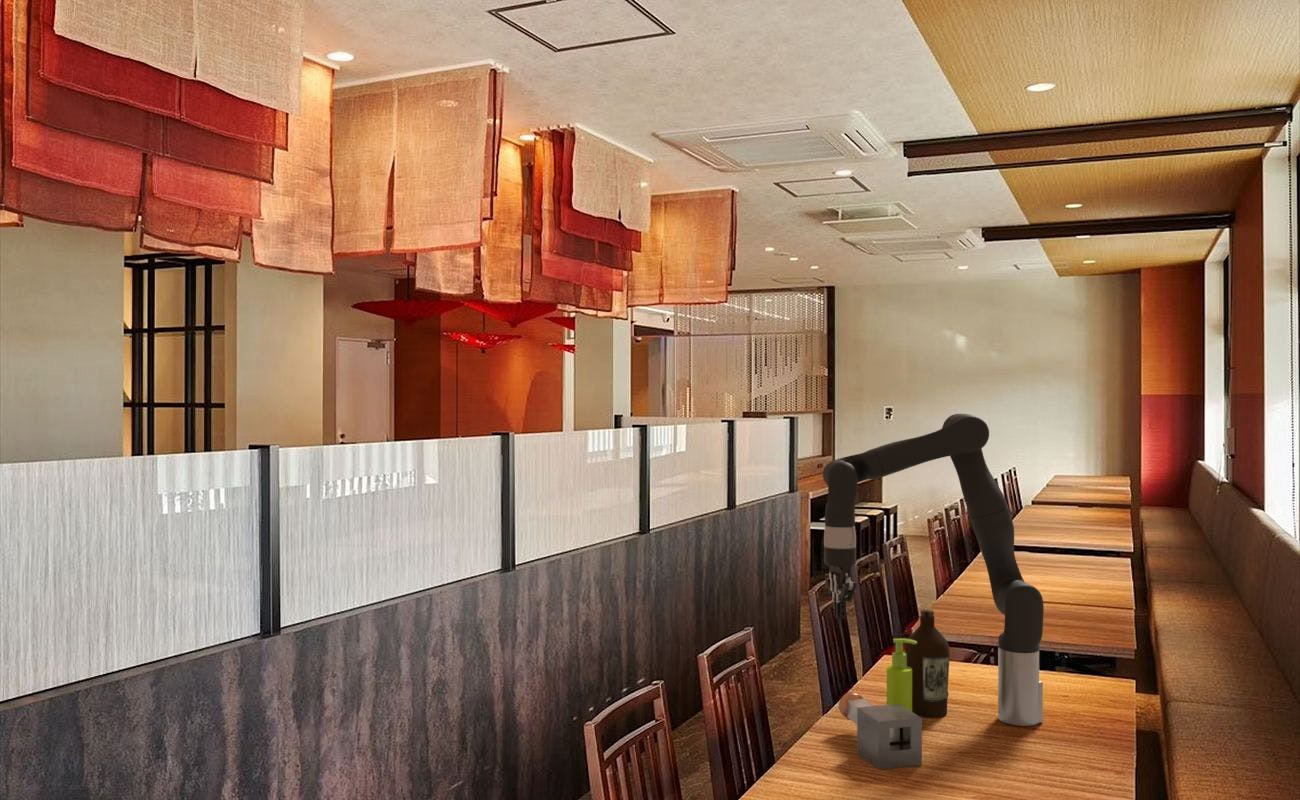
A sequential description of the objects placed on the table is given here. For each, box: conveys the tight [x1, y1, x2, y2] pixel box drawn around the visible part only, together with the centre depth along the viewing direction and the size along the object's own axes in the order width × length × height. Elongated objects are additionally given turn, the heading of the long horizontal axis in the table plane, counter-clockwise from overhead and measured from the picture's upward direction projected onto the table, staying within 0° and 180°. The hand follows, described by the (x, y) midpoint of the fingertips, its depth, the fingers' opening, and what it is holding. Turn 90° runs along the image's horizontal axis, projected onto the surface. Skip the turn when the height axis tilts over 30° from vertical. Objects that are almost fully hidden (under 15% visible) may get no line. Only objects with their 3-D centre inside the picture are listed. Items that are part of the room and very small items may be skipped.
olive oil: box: [904, 609, 951, 719], centre depth 255 cm, size 11×11×25 cm
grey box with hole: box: [856, 704, 923, 771], centre depth 222 cm, size 10×10×10 cm
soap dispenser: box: [886, 637, 917, 712], centre depth 246 cm, size 6×7×20 cm
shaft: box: [838, 691, 900, 742], centre depth 231 cm, size 6×20×6 cm, turn 14°
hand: (839, 617), depth 246 cm, fingers closed
